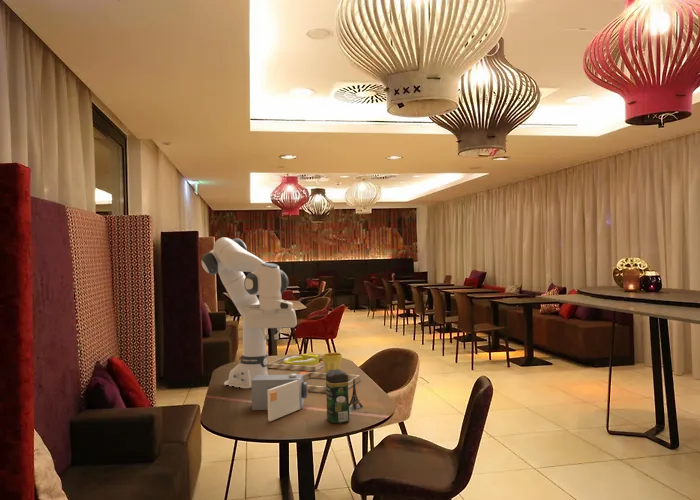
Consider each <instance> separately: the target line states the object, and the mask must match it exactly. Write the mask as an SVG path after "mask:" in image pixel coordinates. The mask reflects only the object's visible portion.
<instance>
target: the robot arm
mask: <svg viewBox="0 0 700 500" xmlns="http://www.w3.org/2000/svg"><path fill="white" fill-rule="evenodd" d="M200 262H201V266H202V268H203V270H204V271H205V272H206V273H208V274H209V275H211V276H212V275H216V274H218V275H219V279H220V281H221V283H222V285H223V286H224V288H225V290H226V292H227V293H228V295H229V297H230V299H231V301H232V303H233V304H234V306H235V307H236V309H237V311H238V313H239V314H240V316H241V318H242V355H241V356H239V357H238V360H240V362H239V363H238V364H237V365H236V366H234V368H232V369H231V370H230V371H229V374H228V380H225V381H224V382H223V386H226V385H229V386H228V387H232V386H234V388H239V387H240V389H252V379H253V378H254V377H255V376H256V375H269V372H268V370H269V369H268V368H267V364H268V354H267V341H268V340H269V338H270V337H269V334H267V329H276V331H277V333H276V334H275V333H274V335H273V337H274V338H273V340H279V335H280V333H281V331H282V329H283V328H288V329H289V328H295V327H297V324H298V321H297V315H296V310H295V309H294V308H293V307H294V303H293V302H292V301H290V300H285V299H282V298H283V297H282V294H283V293H285V291H286V290H287V289H288V287H289V284H290V281H289V277H288V275H287V274H286V273H285V272H284V270H282V269H280V265H278V264H277V263H271V262H266V261H265V260H264V259H262V258H260V257H259V256H256V255H254V254H253V253H251V252H250V251H248V247H247V245H246V243H245V242H244V241H243V240H242V239H240V238H238V237H236V238H232V239H231V238H230V237H223V236H222V237H220V238H218V239H217V240H216V241H215V242H214V243H213V249H211V250H210V251H209V252H206V253H205V254H203V255H202V257H201V259H200ZM244 272H246V273H248V274H247V275H246V274H245V273H244Z"/></svg>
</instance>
